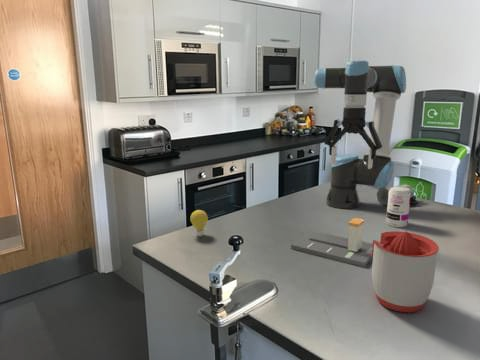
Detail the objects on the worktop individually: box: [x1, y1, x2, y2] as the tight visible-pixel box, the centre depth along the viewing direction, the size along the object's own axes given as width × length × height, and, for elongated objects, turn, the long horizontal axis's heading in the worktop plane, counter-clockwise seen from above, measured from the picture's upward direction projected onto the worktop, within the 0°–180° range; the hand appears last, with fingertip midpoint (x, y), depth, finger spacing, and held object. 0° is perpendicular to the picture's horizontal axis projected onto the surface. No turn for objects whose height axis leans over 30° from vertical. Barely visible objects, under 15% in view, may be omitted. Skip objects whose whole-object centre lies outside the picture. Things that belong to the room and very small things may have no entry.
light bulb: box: [189, 209, 209, 237], centre depth 151 cm, size 7×7×10 cm
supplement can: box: [385, 185, 411, 229], centre depth 158 cm, size 8×8×15 cm
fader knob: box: [348, 217, 365, 252], centre depth 133 cm, size 5×3×10 cm, turn 145°
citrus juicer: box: [366, 230, 440, 314], centre depth 104 cm, size 16×17×20 cm
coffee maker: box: [376, 183, 418, 207], centre depth 185 cm, size 15×9×18 cm
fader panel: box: [290, 229, 373, 268], centre depth 138 cm, size 16×26×2 cm, turn 55°
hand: (351, 166), depth 144 cm, fingers open, 13 cm apart
